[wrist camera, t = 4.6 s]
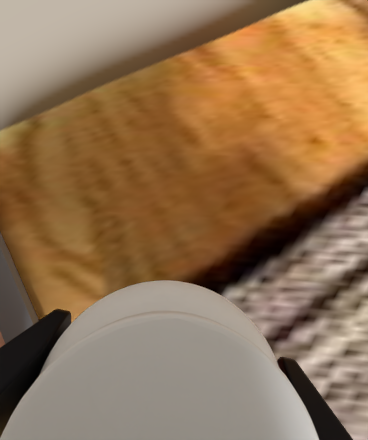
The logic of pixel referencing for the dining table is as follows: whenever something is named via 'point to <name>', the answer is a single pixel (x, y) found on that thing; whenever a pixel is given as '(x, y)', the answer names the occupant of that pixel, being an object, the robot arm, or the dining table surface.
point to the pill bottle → (161, 374)
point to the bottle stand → (13, 299)
